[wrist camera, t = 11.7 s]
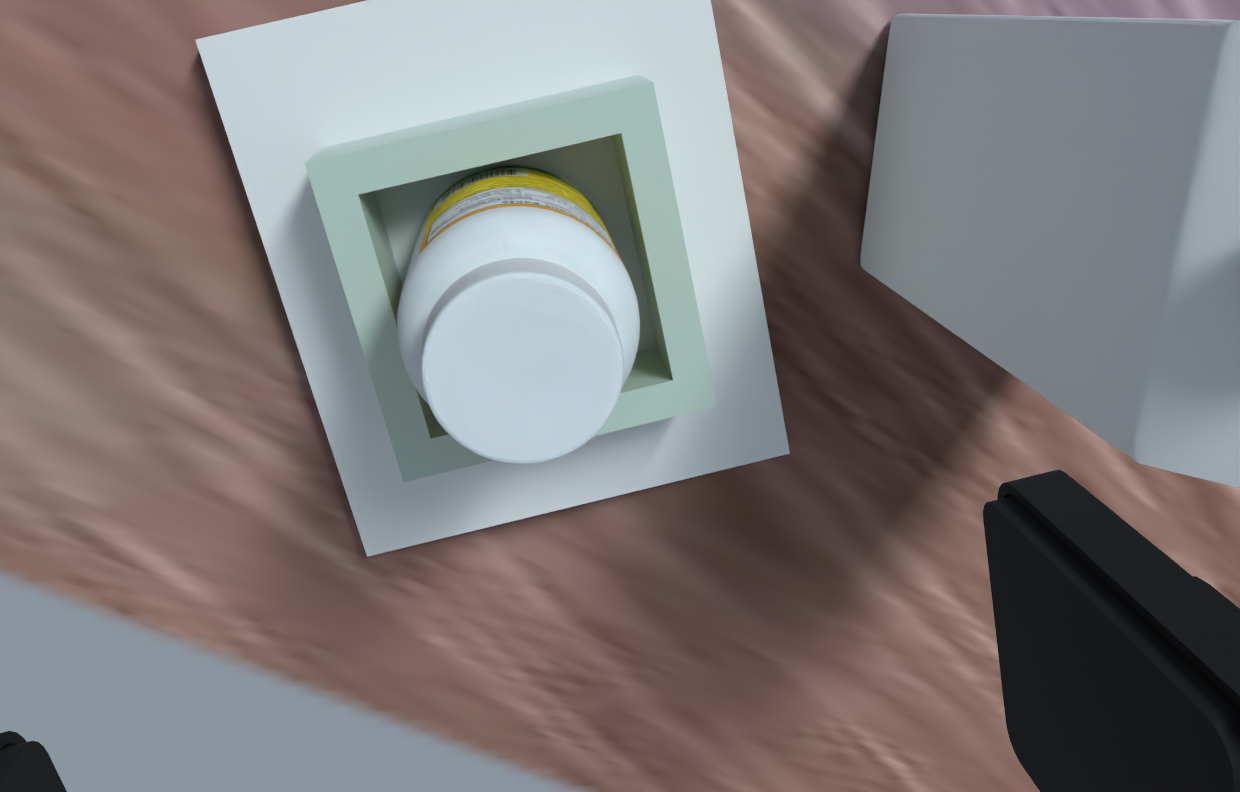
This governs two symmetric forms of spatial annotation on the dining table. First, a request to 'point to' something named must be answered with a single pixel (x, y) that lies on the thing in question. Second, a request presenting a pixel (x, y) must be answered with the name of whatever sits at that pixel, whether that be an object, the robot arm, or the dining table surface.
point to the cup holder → (472, 140)
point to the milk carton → (1074, 215)
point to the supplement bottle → (517, 315)
